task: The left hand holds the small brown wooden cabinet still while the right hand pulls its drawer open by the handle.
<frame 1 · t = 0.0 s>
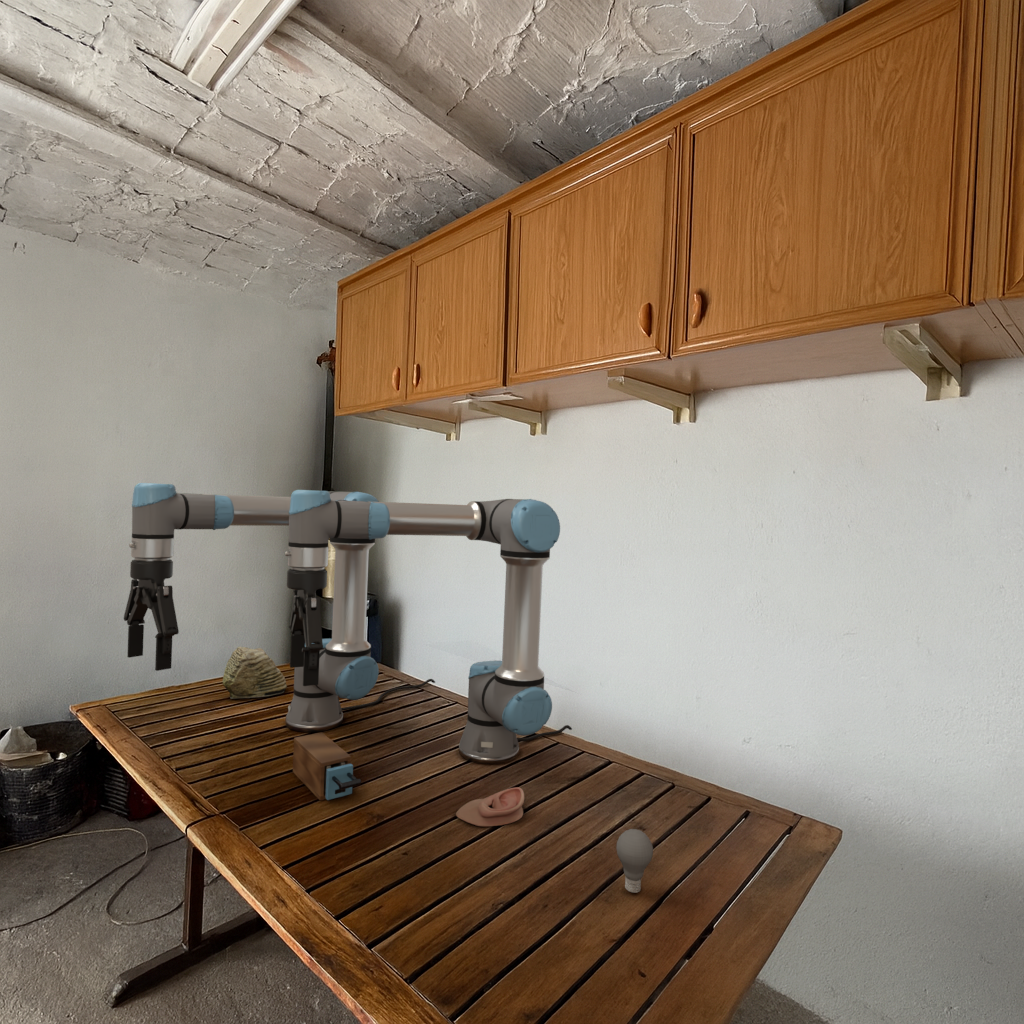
left hand: (148, 662, 129), 28 cm above the table, tool pointing down, fingers open, 13 cm apart
right hand: (303, 675, 125), 28 cm above the table, tool pointing down, fingers open, 13 cm apart
cabinet: (320, 781, 141), on the table
drawer: (331, 773, 136), point 4 cm above the table, slide at 1.3 cm
anatomical model: (490, 814, 130), on the table
fossil: (254, 694, 198), on the table
light bulb: (632, 891, 106), on the table
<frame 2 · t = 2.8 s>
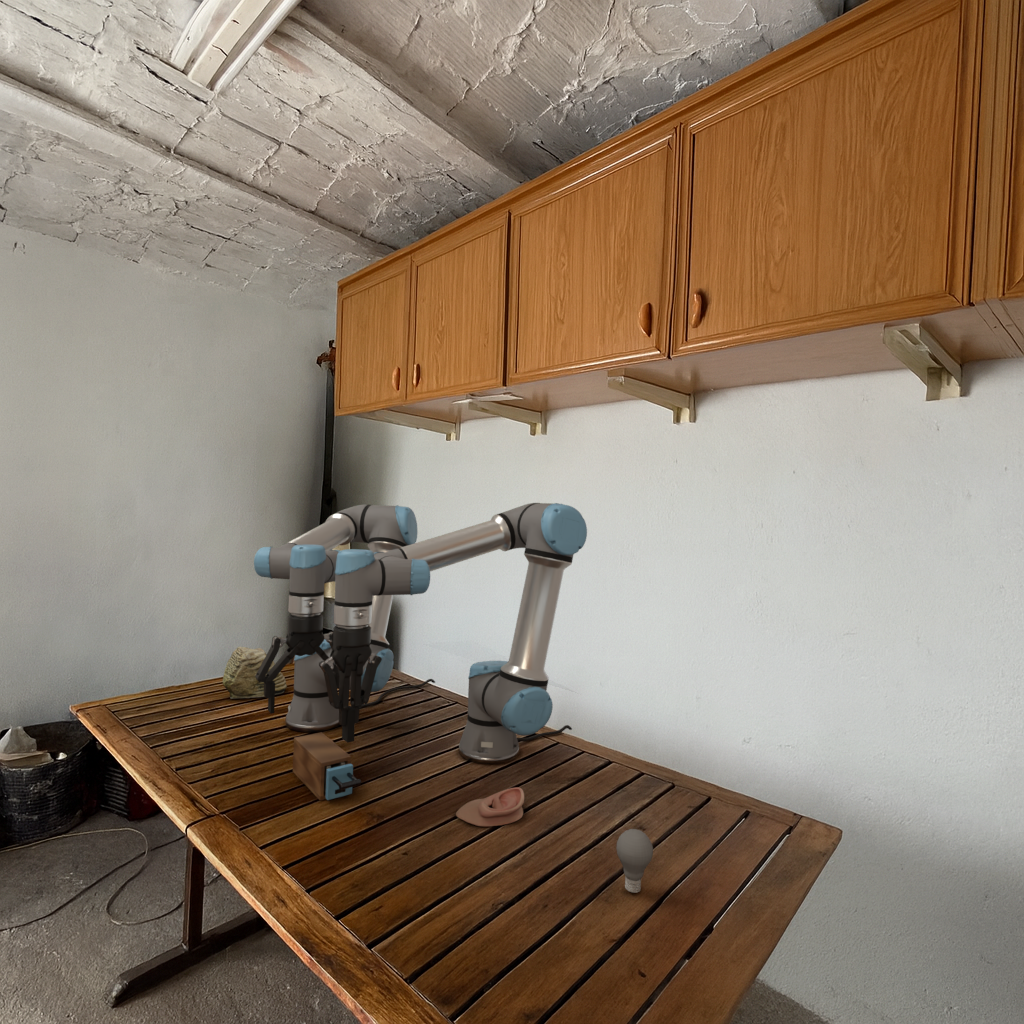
left hand: (302, 707, 143), 16 cm above the table, tool pointing down, fingers open, 13 cm apart
right hand: (348, 739, 130), 14 cm above the table, tool pointing down, fingers closed
nothing on the table moved.
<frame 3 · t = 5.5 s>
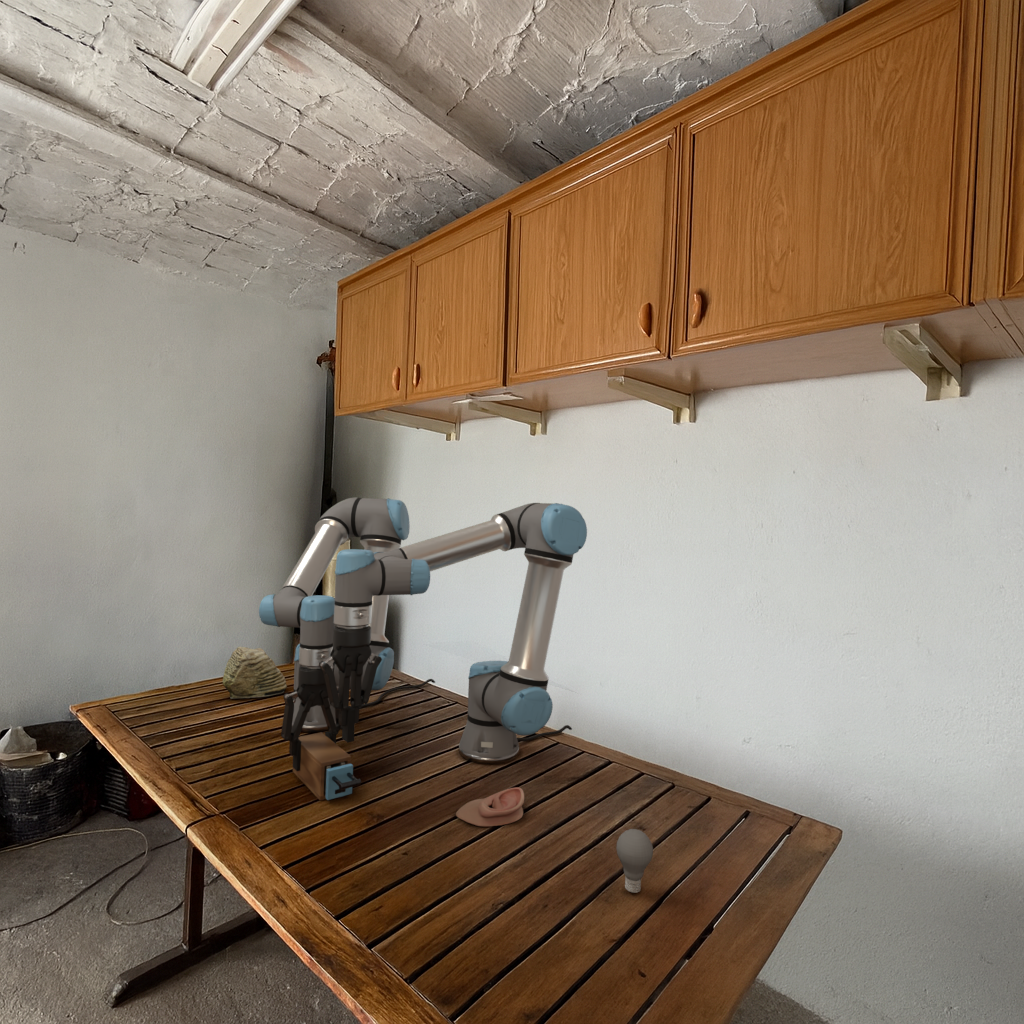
left hand: (312, 764, 144), 2 cm above the table, tool pointing down, fingers closed on cabinet, 7 cm apart
right hand: (348, 739, 130), 14 cm above the table, tool pointing down, fingers closed
cabinet: (320, 781, 141), on the table, touching left hand
everything else where it was.
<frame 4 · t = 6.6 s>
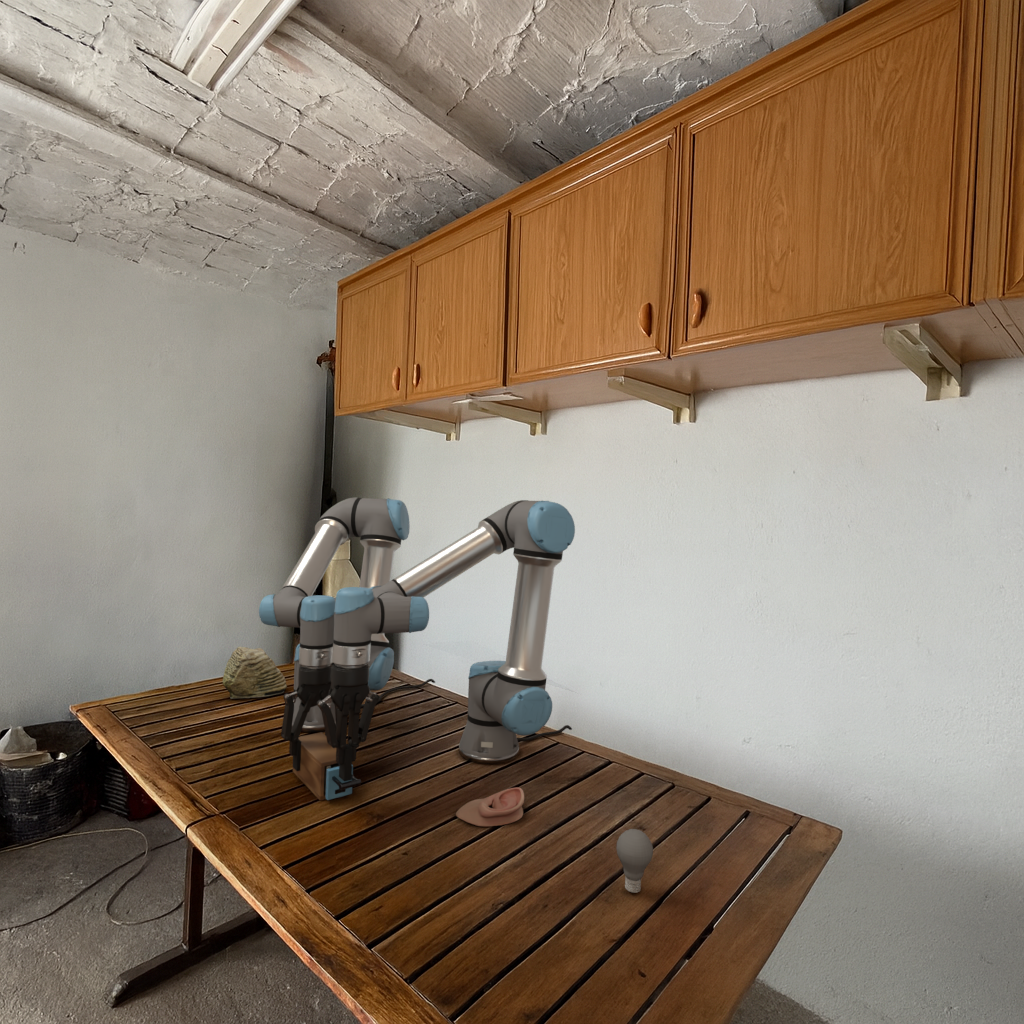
left hand: (312, 764, 144), 2 cm above the table, tool pointing down, fingers closed on cabinet, 7 cm apart
right hand: (344, 778, 130), 6 cm above the table, tool pointing down, fingers closed
cabinet: (320, 781, 141), on the table, touching left hand
drawer: (331, 773, 136), point 4 cm above the table, slide at 1.3 cm, touching right hand
everything else where it was.
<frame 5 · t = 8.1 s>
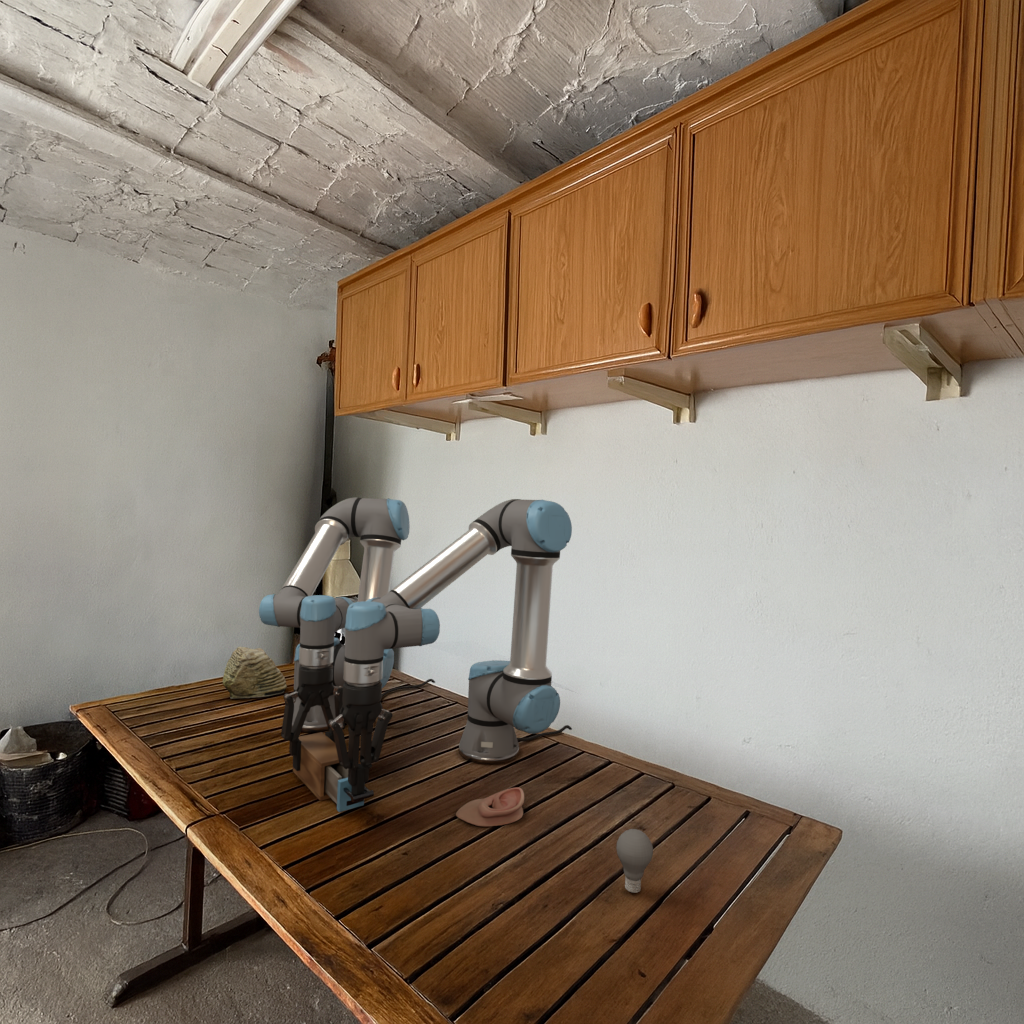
left hand: (312, 764, 144), 2 cm above the table, tool pointing down, fingers closed on cabinet, 7 cm apart
right hand: (357, 799, 125), 4 cm above the table, tool pointing down, fingers closed
cabinet: (320, 781, 141), on the table, touching left hand
drawer: (342, 784, 132), point 4 cm above the table, slide at 7.1 cm, touching right hand
everything else where it was.
when the left hand's fingers open (2 cm above the table, at t = 9.7 s): cabinet stays where it is, on the table.
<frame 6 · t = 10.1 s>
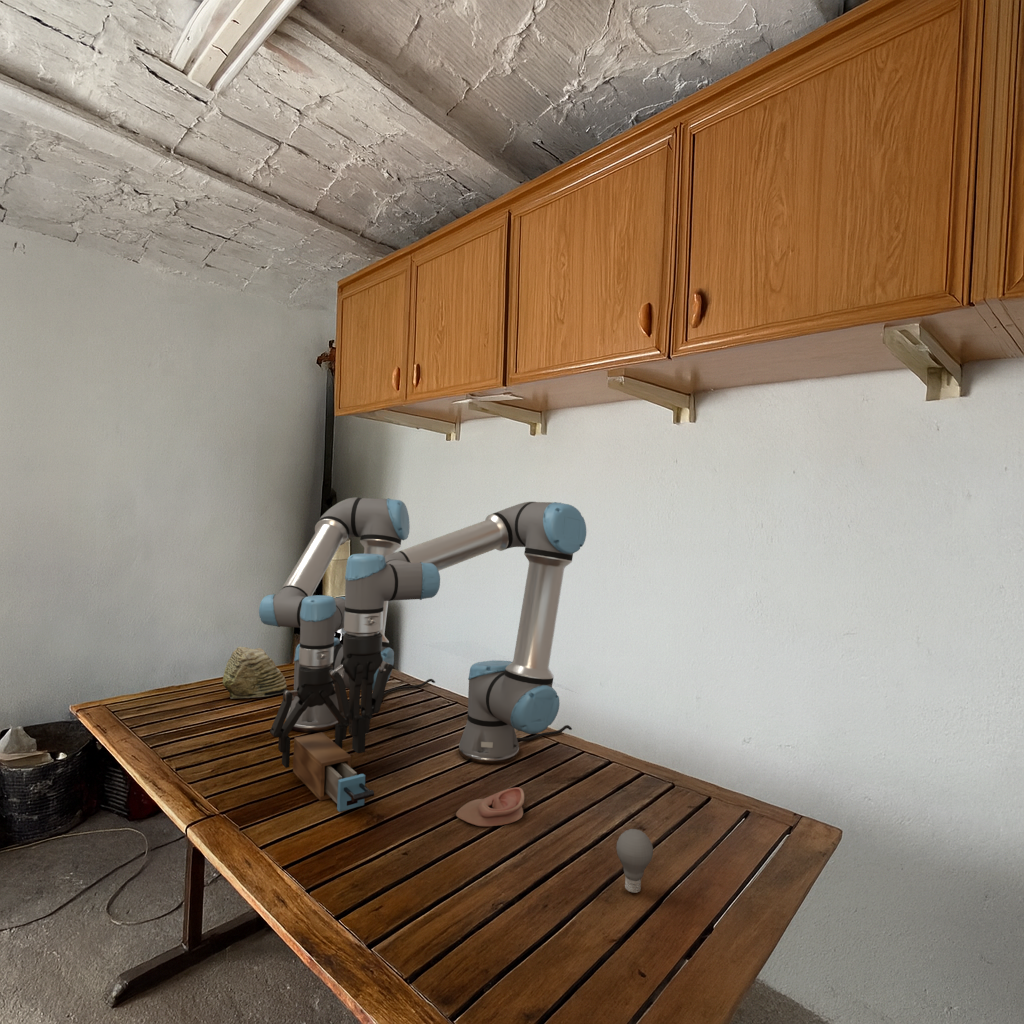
left hand: (312, 759, 144), 3 cm above the table, tool pointing down, fingers open, 11 cm apart
right hand: (358, 750, 126), 13 cm above the table, tool pointing down, fingers closed
cabinet: (320, 782, 141), on the table
drawer: (342, 784, 131), point 4 cm above the table, slide at 7.1 cm
everything else where it was.
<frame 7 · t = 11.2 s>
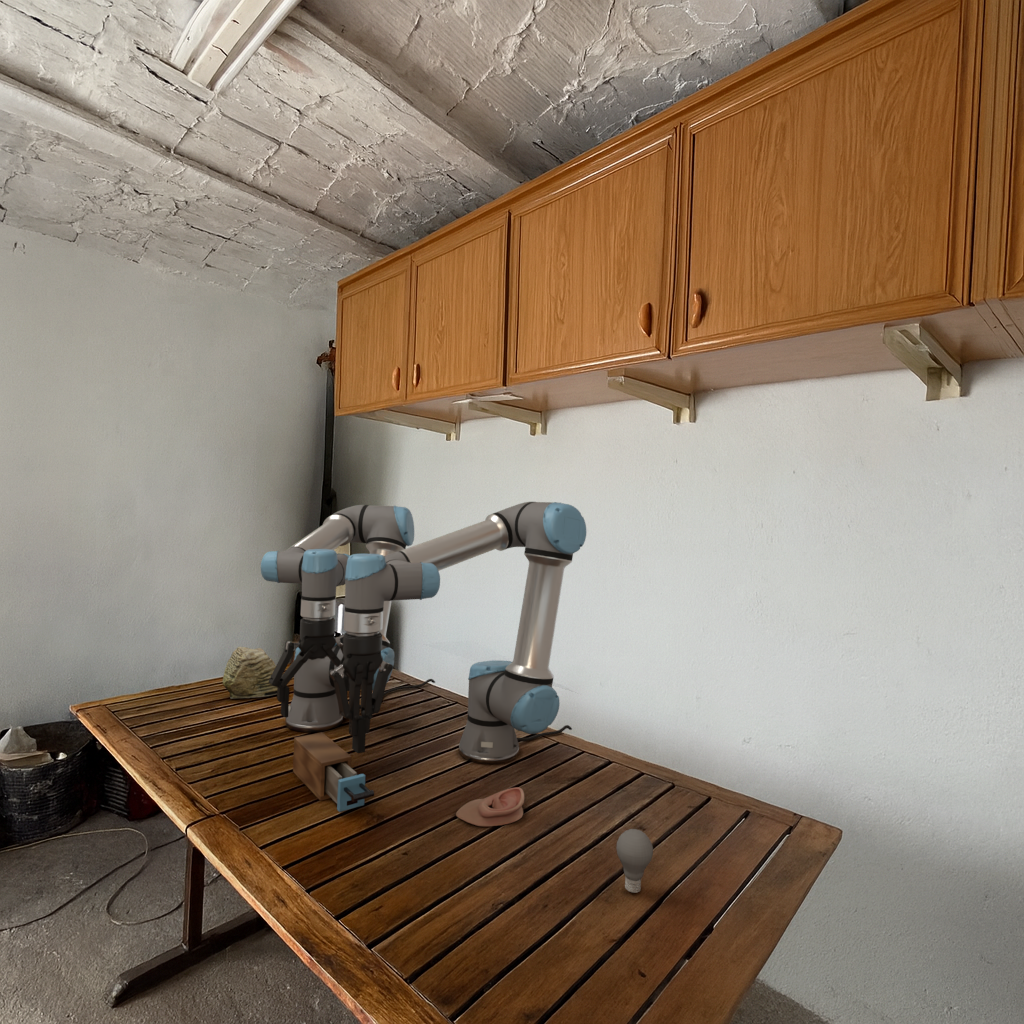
left hand: (314, 710, 144), 15 cm above the table, tool pointing down, fingers open, 13 cm apart
right hand: (358, 750, 126), 13 cm above the table, tool pointing down, fingers closed
nothing on the table moved.
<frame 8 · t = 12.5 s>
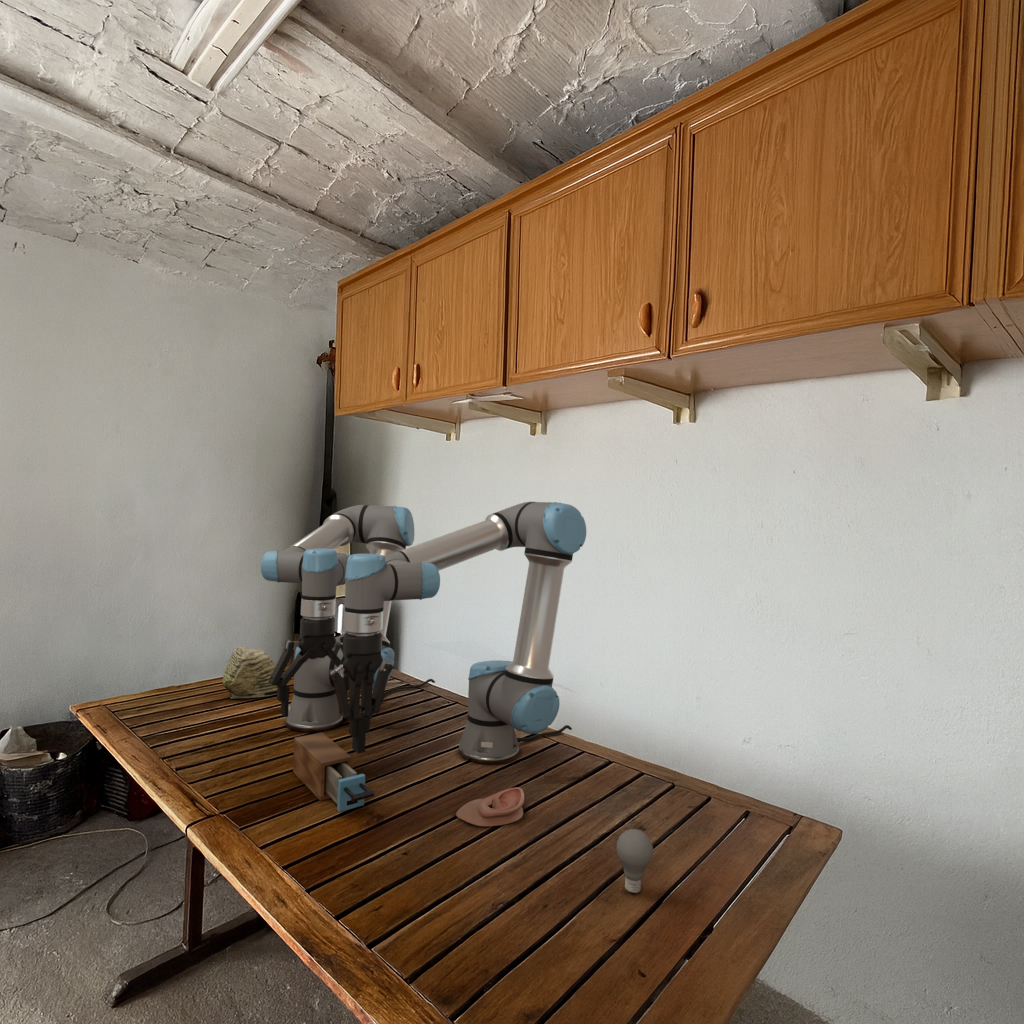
left hand: (314, 709, 144), 15 cm above the table, tool pointing down, fingers open, 13 cm apart
right hand: (358, 750, 126), 13 cm above the table, tool pointing down, fingers closed
nothing on the table moved.
at the end: drawer slide at 7.1 cm; cabinet tilted 0°; cabinet never tilted more than 1° during the clip; cabinet moved 0.1 cm from its start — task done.
